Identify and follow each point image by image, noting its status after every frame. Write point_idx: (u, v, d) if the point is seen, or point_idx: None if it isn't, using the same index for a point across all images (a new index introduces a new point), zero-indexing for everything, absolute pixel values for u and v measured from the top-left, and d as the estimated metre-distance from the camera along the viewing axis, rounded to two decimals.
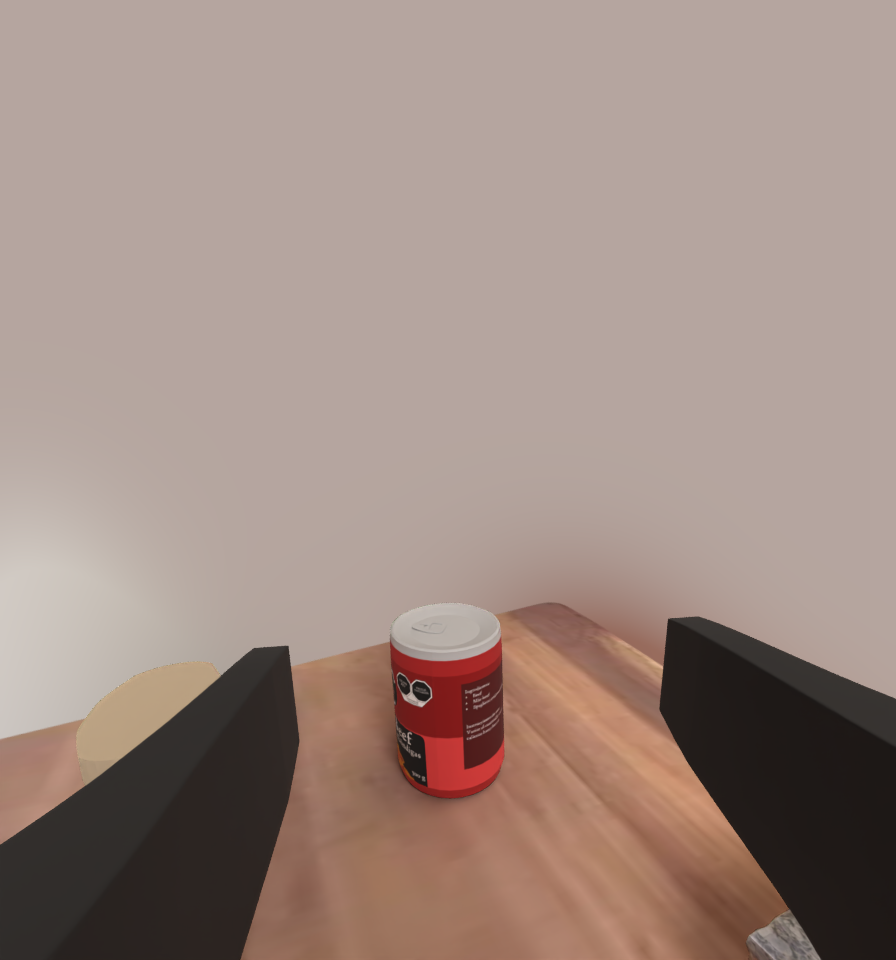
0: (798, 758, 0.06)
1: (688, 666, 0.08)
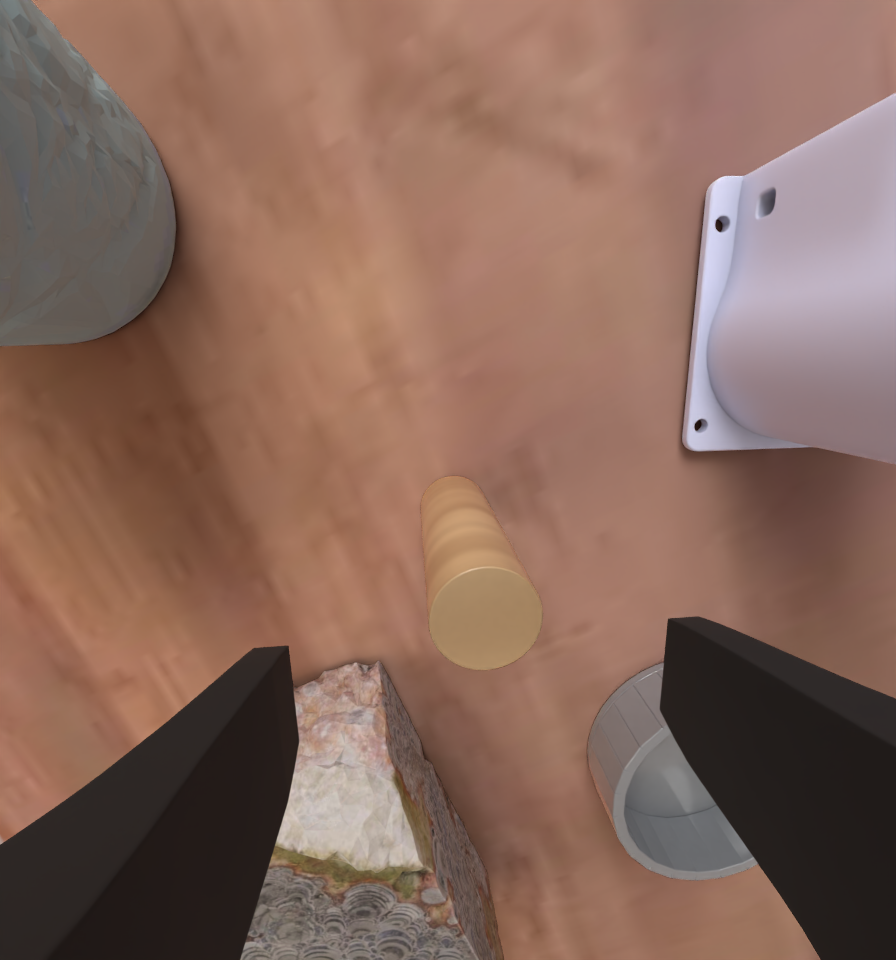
0: (798, 758, 0.06)
1: (688, 666, 0.08)
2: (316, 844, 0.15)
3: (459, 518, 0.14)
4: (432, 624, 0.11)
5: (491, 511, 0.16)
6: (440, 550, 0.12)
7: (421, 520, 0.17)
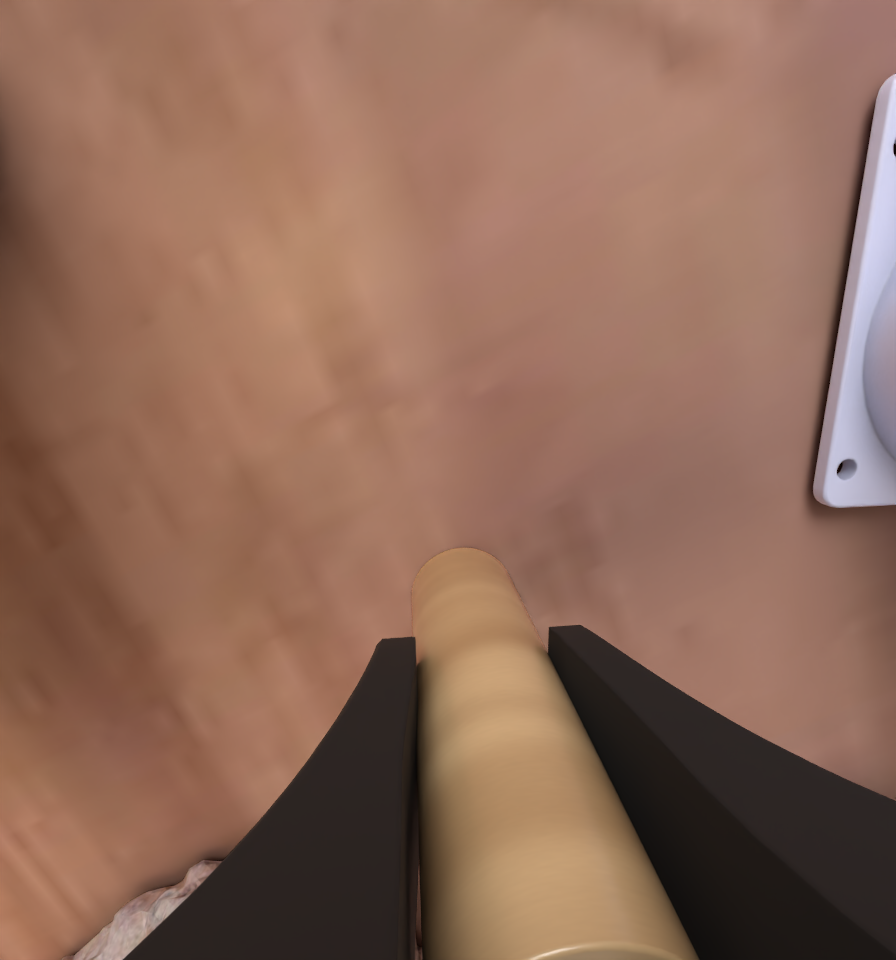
0: (629, 775, 0.06)
1: (561, 676, 0.08)
2: None
3: (485, 676, 0.07)
4: None
5: (533, 632, 0.09)
6: (452, 787, 0.06)
7: (412, 629, 0.11)
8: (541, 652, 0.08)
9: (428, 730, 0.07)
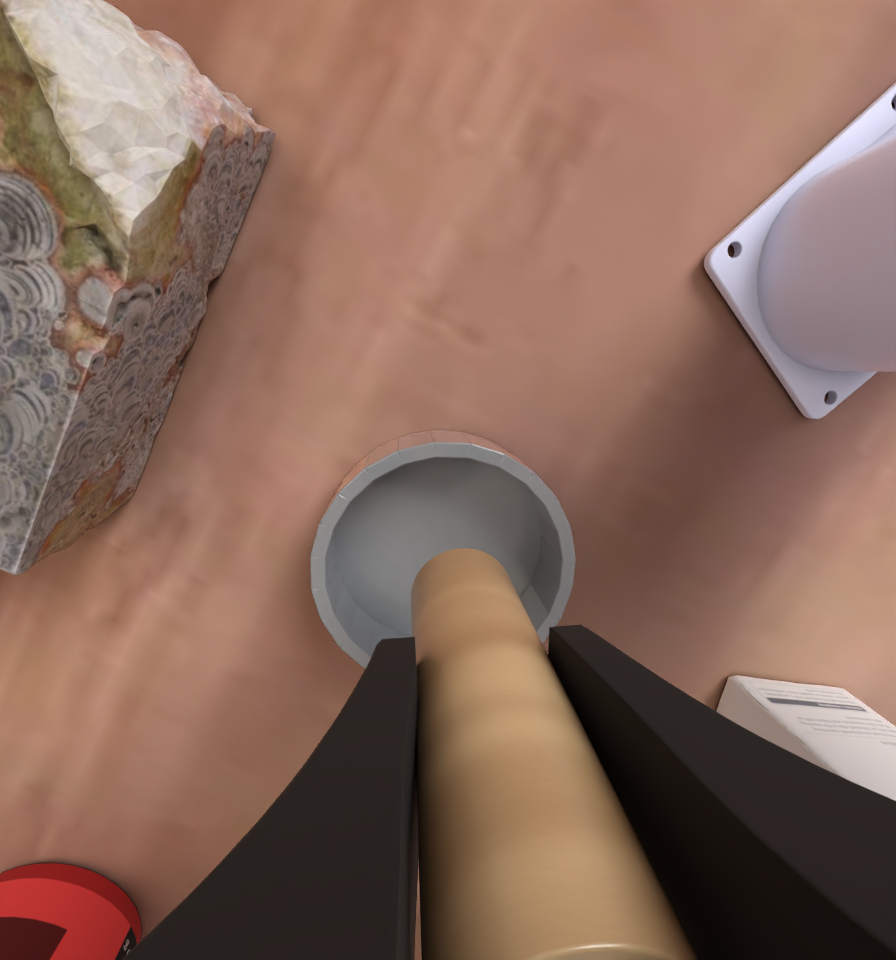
0: (629, 775, 0.06)
1: (561, 676, 0.08)
2: (41, 35, 0.10)
3: (484, 677, 0.07)
4: None
5: (533, 632, 0.09)
6: (451, 788, 0.06)
7: (412, 630, 0.11)
8: (540, 653, 0.08)
9: (428, 731, 0.07)
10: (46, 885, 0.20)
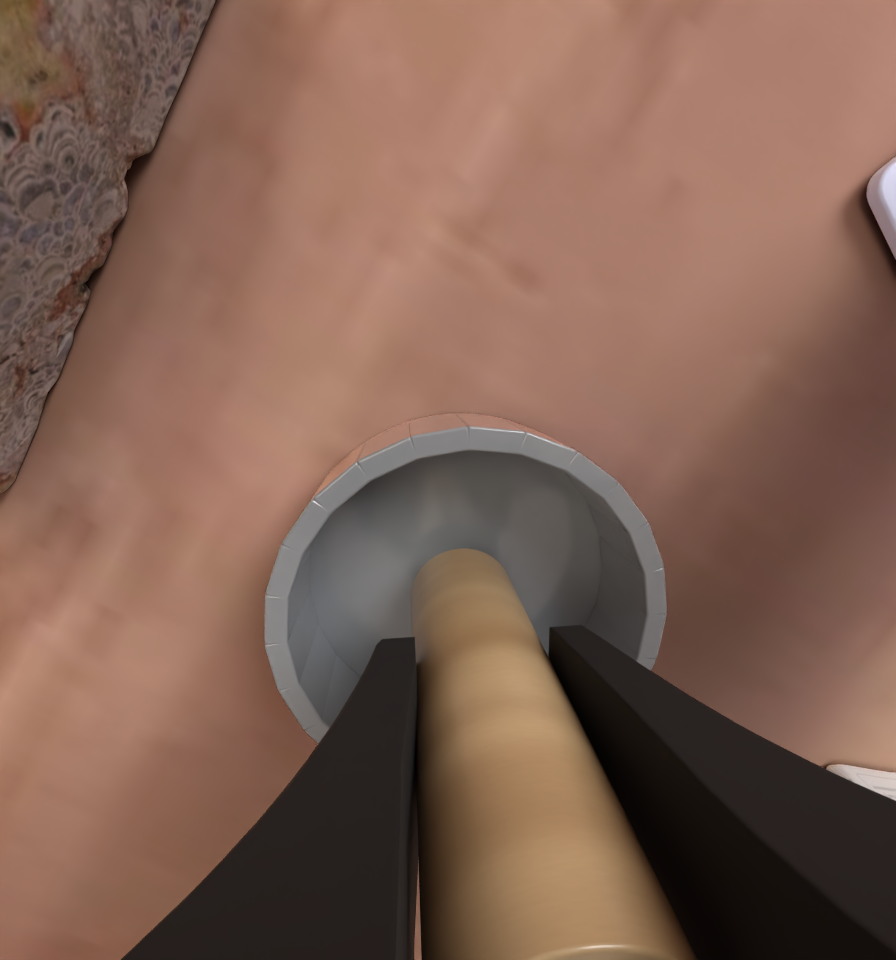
0: (630, 775, 0.06)
1: (561, 676, 0.08)
2: None
3: (484, 679, 0.07)
4: None
5: (532, 633, 0.09)
6: (451, 789, 0.06)
7: None
8: (540, 653, 0.08)
9: (427, 731, 0.07)
10: None
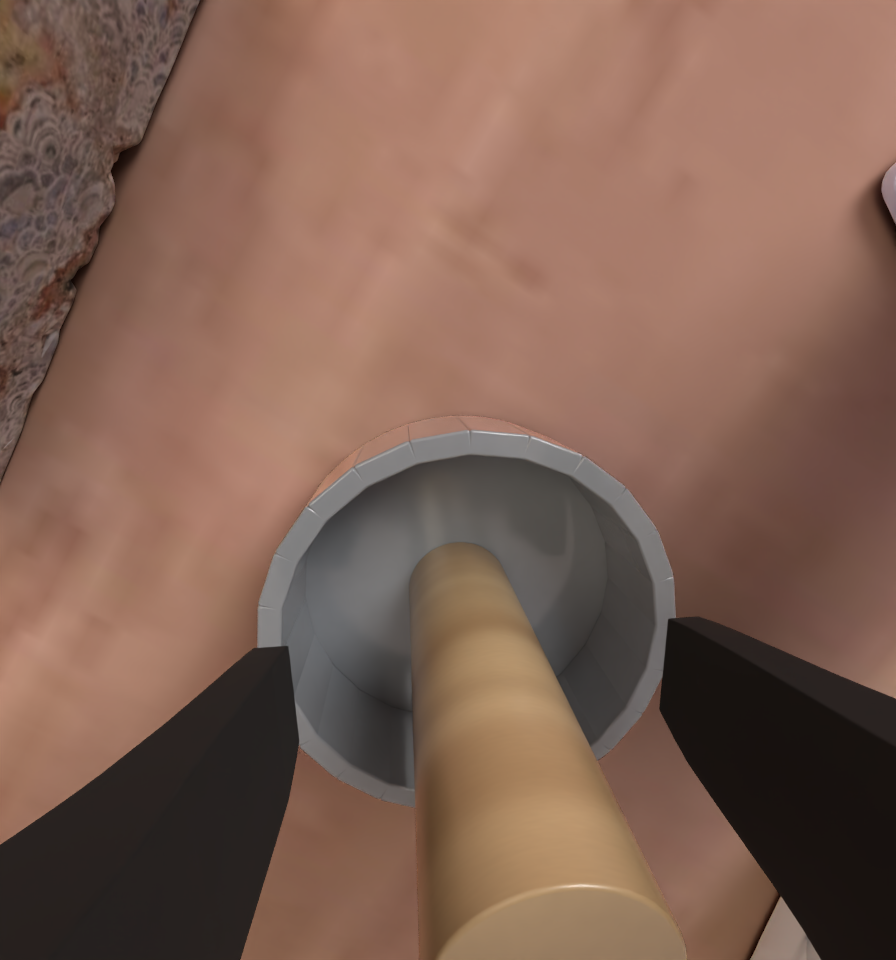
0: (798, 758, 0.06)
1: (688, 666, 0.08)
2: None
3: (477, 660, 0.08)
4: None
5: (525, 620, 0.09)
6: (445, 758, 0.06)
7: (410, 620, 0.11)
8: (531, 639, 0.09)
9: (424, 709, 0.07)
10: None
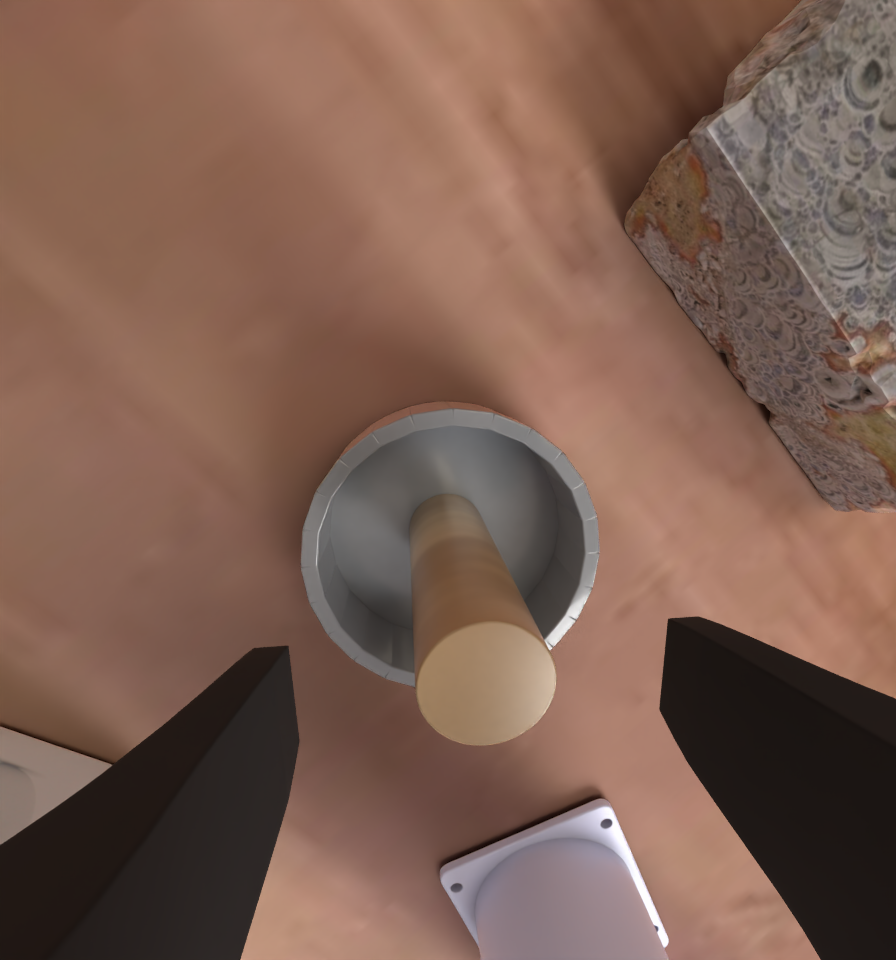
0: (798, 758, 0.06)
1: (688, 666, 0.08)
2: None
3: None
4: (506, 628, 0.08)
5: None
6: (524, 602, 0.10)
7: (464, 509, 0.15)
8: None
9: (503, 566, 0.12)
10: None
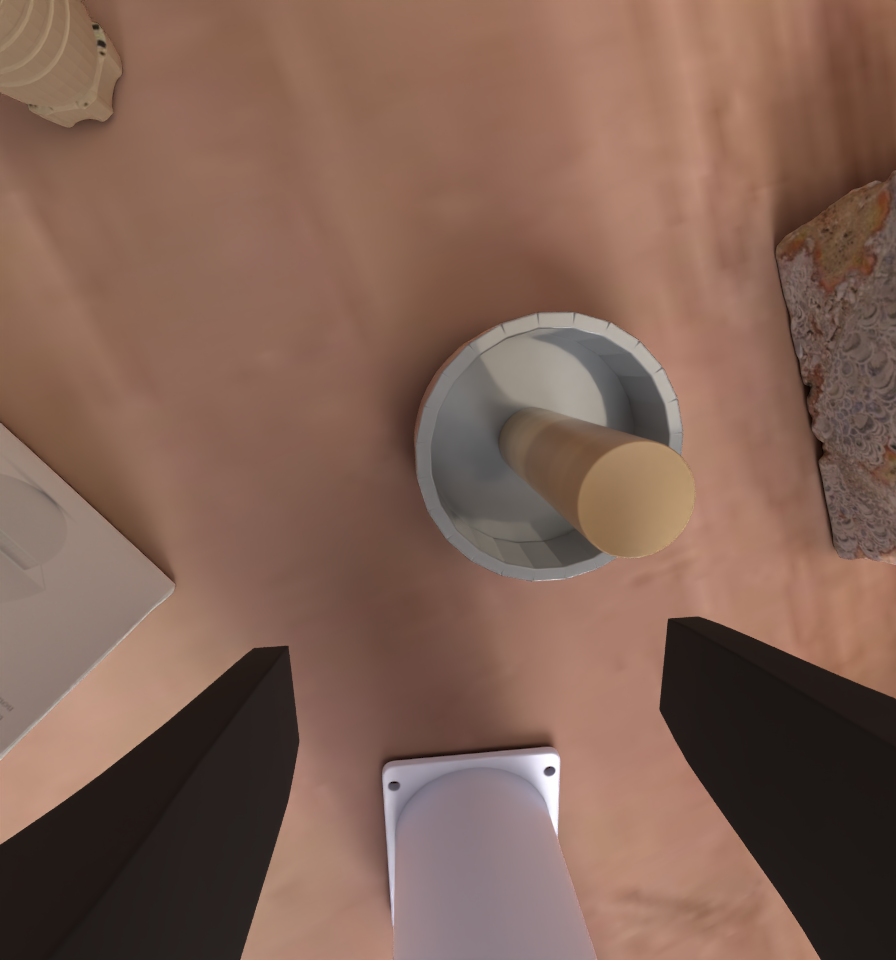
0: (798, 758, 0.06)
1: (688, 666, 0.08)
2: None
3: None
4: (676, 455, 0.10)
5: None
6: None
7: None
8: None
9: None
10: None
